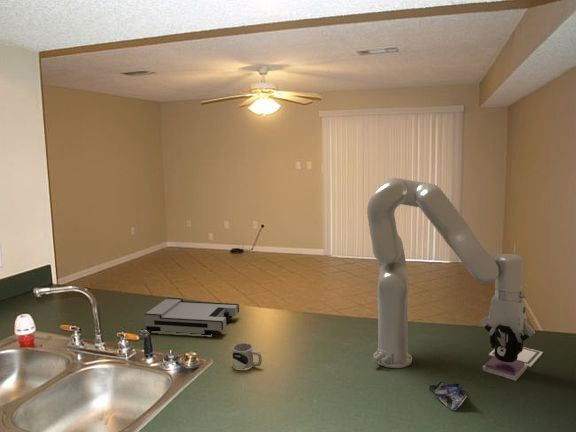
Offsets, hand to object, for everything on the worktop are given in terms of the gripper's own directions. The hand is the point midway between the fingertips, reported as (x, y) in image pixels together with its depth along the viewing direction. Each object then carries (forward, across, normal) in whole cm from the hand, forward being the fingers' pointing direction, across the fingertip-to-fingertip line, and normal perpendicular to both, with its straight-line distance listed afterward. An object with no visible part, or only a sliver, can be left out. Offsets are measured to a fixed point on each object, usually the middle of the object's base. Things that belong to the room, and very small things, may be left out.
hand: (506, 349), depth 145 cm
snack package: (+7, +6, +27) cm, 29 cm away
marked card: (+7, +1, -13) cm, 15 cm away
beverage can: (+3, 0, 0) cm, 3 cm away
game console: (+7, +106, +43) cm, 115 cm away
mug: (+6, +63, +52) cm, 82 cm away
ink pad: (+7, 0, 0) cm, 7 cm away
